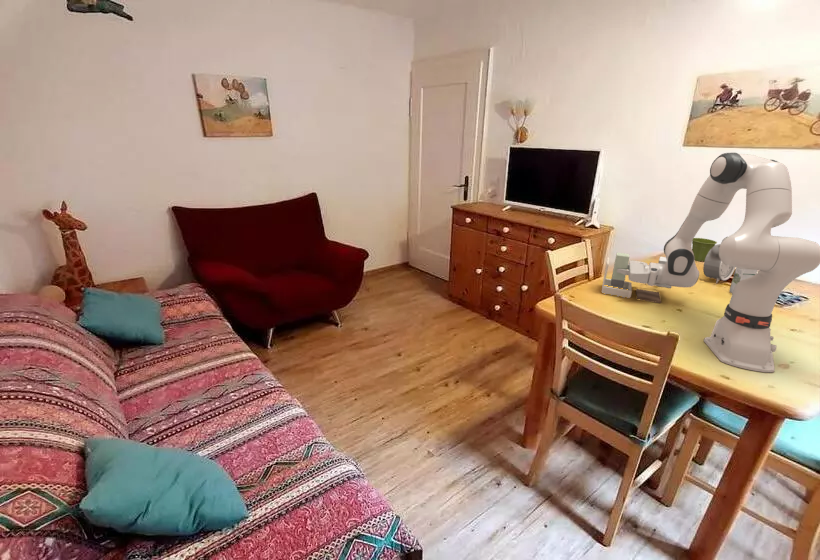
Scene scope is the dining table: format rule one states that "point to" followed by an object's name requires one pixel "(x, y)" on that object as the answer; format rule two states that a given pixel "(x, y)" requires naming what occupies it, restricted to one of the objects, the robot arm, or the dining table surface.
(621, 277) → the sage box
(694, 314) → the dining table surface
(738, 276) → the syrup box
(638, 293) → the walnut board
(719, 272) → the alarm clock
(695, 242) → the plant pot
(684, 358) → the dining table surface
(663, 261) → the supplement box
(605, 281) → the white backed tray
